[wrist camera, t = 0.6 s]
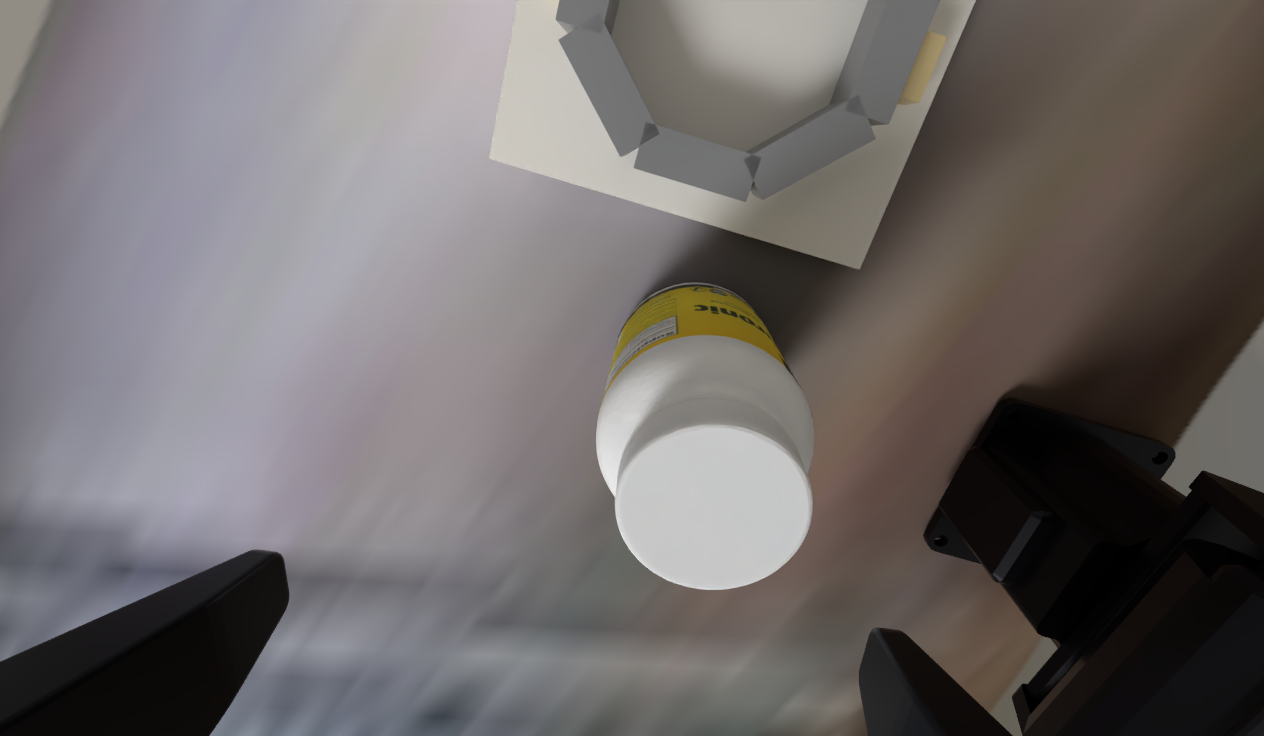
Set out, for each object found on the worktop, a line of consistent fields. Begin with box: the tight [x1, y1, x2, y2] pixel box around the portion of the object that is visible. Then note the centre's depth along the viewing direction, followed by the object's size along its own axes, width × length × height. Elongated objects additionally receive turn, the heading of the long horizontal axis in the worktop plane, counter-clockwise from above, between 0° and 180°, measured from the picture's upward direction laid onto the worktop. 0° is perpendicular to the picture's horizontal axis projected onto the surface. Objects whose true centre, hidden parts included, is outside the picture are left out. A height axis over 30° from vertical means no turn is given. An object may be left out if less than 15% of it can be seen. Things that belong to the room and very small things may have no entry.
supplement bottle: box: [596, 282, 814, 590], centre depth 16 cm, size 5×5×10 cm
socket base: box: [489, 0, 976, 270], centre depth 16 cm, size 12×11×3 cm
